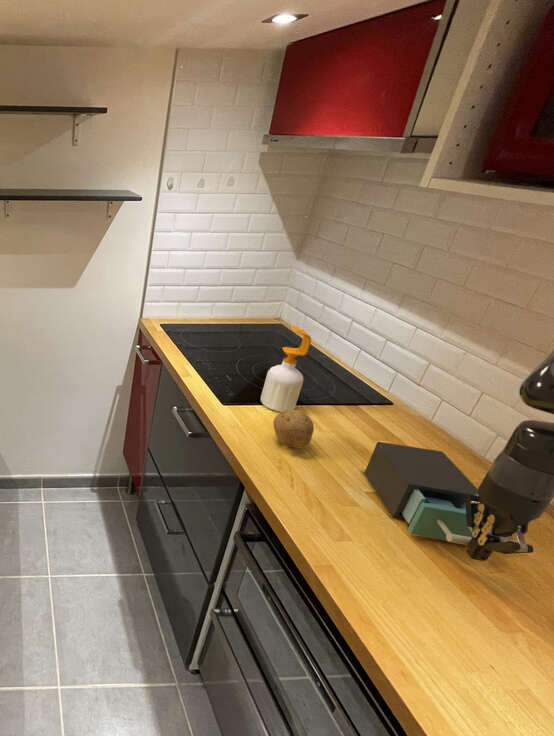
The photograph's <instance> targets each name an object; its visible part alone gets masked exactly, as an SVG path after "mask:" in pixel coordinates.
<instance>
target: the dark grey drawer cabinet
mask: <svg viewBox="0 0 554 736" xmlns="http://www.w3.org/2000/svg"><path fill="white" fill-rule="evenodd" d="M363 473H364V474H365V476H366V478H367V480H368V481H369V483H370V484H371V486H372V487H373V488H374V490H375V492H376V493H377V495H378V496H379V499H381V501H382V502H383V503H382V504H384V506H385V507H386V508H387V510H388V512H389V513H390V515H391V517H392V518H394V519H399V520H405V521H406V519H405V518H404V516H403V515H402V513H401V510H402V507H403V505H404V503H405V501H406V499H407V497H408V495H409V493H410V491H411V489H412V488H418V489H423V490H429V491H435V492H441V493H447V494H453V495H459V496H465V494H466V493H472V494H478V495H479V493H478V487H476V485H475V484H474V483H472V481H471V480H470V479H469V478H468V477H467V476H466V475H465V474H464V473H463V472H462V471H461V469H460V468H458V466H457V465H456V464H455V463H454V462H453V461H452V460H451V458H449V456H448V455H447V454H445V452H444V451H442V450H435V449H429V448H423V447H415V446H408V445H403V444H397V443H396V444H395V443H390V442H382V441H376V444H375V447H374V449H373V451H372V454H371V456H370V459H369V461H368V463H367V466H366V468H365V471H364V472H363Z"/></svg>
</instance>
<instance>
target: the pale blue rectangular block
mask: <svg viewBox="0 0 554 736" xmlns="http://www.w3.org/2000/svg"><path fill="white" fill-rule="evenodd" d="M425 499H426V501H425V503H430V504H435V505H441V506H447V507H453V508H455V506H454V505H453V504H452V503H451V502H450V501H447V500H441V499H435V498H430V497H425Z"/></svg>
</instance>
